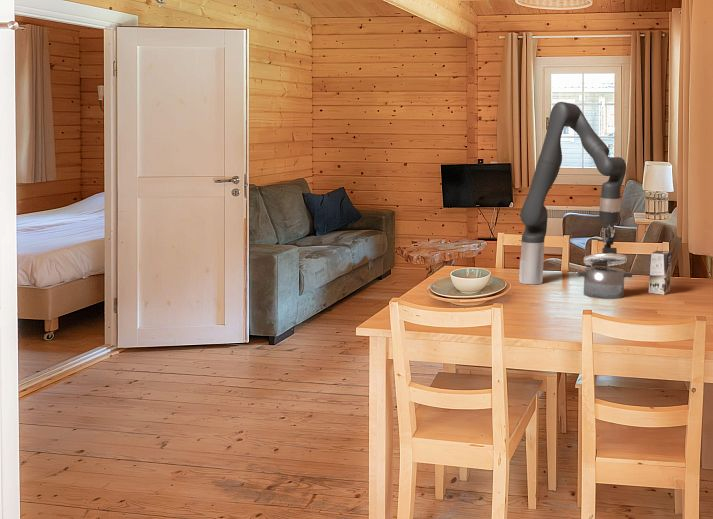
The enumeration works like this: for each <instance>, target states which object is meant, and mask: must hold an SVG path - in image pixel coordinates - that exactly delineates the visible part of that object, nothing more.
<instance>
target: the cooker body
mask: <svg viewBox="0 0 713 519" xmlns="http://www.w3.org/2000/svg"><path fill="white" fill-rule="evenodd" d="M576 276H577V277H581V278H582V277H583V292H582V293H583V296H585V297H590V298H594V299H603V300H611V299H612V300H614V299H621V298H623V297H624V292H625V291H624V290H625V289H624V288H625V278H633V272H631V271H625V269H623V268H620V267H619V268H618V267H612V266H591V265H590V266H587V267H585V268H584V271H583V270H582V271H581V270H577V271H576Z"/></svg>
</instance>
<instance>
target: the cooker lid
mask: <svg viewBox="0 0 713 519" xmlns="http://www.w3.org/2000/svg"><path fill="white" fill-rule="evenodd" d="M617 251H618V249H617V247H611V248H604V247H602V248H601V252H600V253H593V254H588V255H586V256H584V257H583V264H584V265H587V266H590V267H591V266H608V267H612V266H619V265H622V264H625V263H627V262H628V260H627V255H625V254H623V253H618V252H617Z"/></svg>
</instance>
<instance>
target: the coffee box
mask: <svg viewBox="0 0 713 519" xmlns="http://www.w3.org/2000/svg"><path fill="white" fill-rule="evenodd" d="M650 256H651V257H650V264H649V265H650V267H649V281H648V282H649V284H648V293H649V294H656V295H667V294H668V293H670V291H671V278H672V277H671V276H672V262H673V251H670V250H669V251H668V250H655V251H653V252H651V254H650Z"/></svg>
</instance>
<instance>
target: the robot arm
mask: <svg viewBox="0 0 713 519" xmlns="http://www.w3.org/2000/svg"><path fill="white" fill-rule="evenodd" d="M565 127H567V128H568V127H569V128H571V129H572V130H573V131H574V132H575V133H576V134H577V136H578V137H579V139H580V142H581V145H582V147H583V149H584V151H585V152H586V153H587V154H588V155H589V156H590V157H591V158H592V160H593V163H594V165H595V167H596V168H597V171H598V172H599V173H600V174H601V175H602V176H605V177H608V180H607V181H605V182H604V183H602V185H601V190H600V191H601V192H600V201H599V213H598V214H599V215H598V216H599V217H598V221H599V223H603V226H602V228H601V229H600V232H601V240H602V243H603V248H612V246H613V245H614V241H615V239H616V235H617V234H616V227H615V224H618V223H619V222H620V219H621V218H620V215H621V189H622V185H623V182H624V179H625V175H626V173H627V163H626V161H625V159H623V158H622V157H619V156H614V157H613V156H611V157H610V156H609V155H610V148H609V147H608V146H607V144H606V143H605V142H604V141H603V140H602V139H601V137H599V135H598V134H597V133H596V132H595V130H594V129H593V128H592V126H591V124H590V123H589V122H588V120H587V118H586V116H585V115H584V113H583V111H582V109H581V108H580V107H579V106H578V105H577V104H574V103H571V102H565V101H558V102H556V103H555V104H554V105H553V107H552V108H551V111H550V115H549V118H548V123H547V128H546V132H545V133H546V134H545V137H544V141H543V144H542V148H541V151H540V154H539V155H538V156H539V157H538V160H537V163H536V165H535V169H534V173H533V175H532V180H531V183H530V188H529V190H528V193H527V196H526V197H525V200H524V202H523V205H522V207H521V210H520V220H521V222H522V224H524V225H525V226H524V231H523V233H522V234H521V245H520V246H521V249H520V258H519V271H518V273H519V275H518V276H519V277H518V282H519V283H520V284H522V285H523V284H525V285H542V284H543V281H544V280H543V279H544V278H543V276H544V256H545V238H546V236H547V228H548V209H547V207H546V206H545V200H546V197H547V195H548V193H549V191H550V190H551V188H552V186H553V185H554V183H555V181H556V180H557V178H558V175H559V172H560V169H561V166H562V162H563V152H562V145H561V140H562V139H561V138H562V134H563V131H564V128H565Z"/></svg>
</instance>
